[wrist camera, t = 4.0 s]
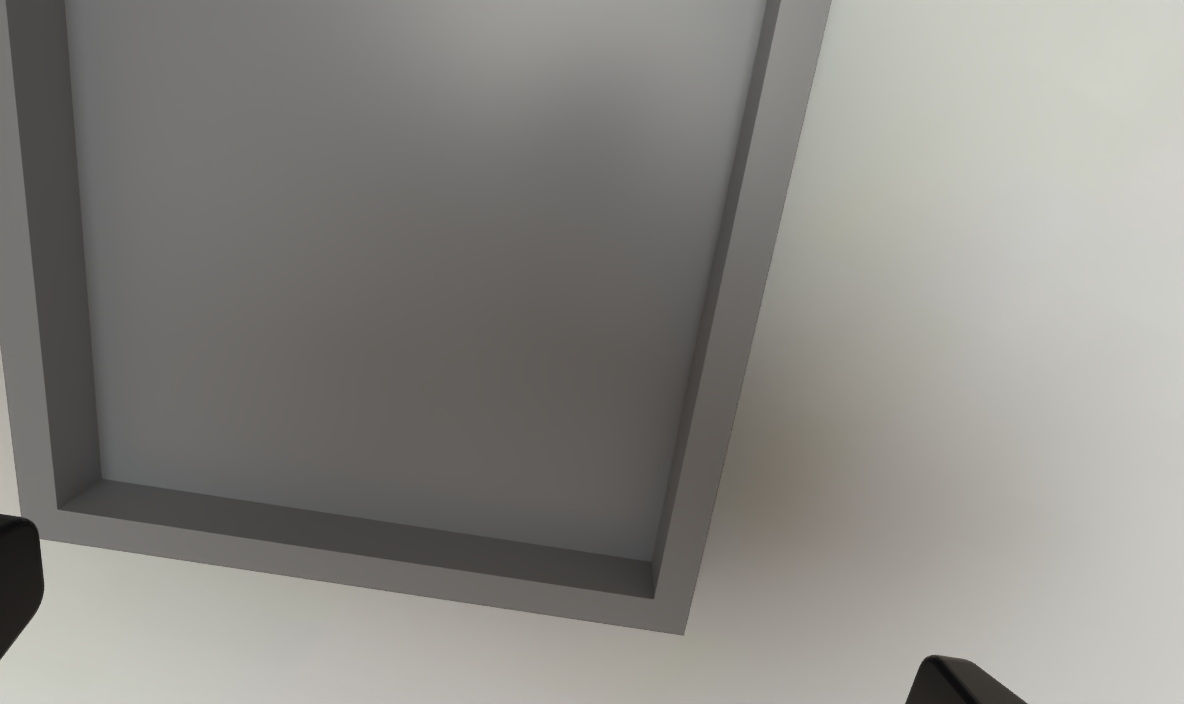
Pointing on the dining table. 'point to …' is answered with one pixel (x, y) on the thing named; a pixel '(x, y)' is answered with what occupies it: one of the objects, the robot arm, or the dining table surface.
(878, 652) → the dining table surface
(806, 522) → the dining table surface
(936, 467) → the dining table surface
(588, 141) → the tray
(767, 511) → the dining table surface
